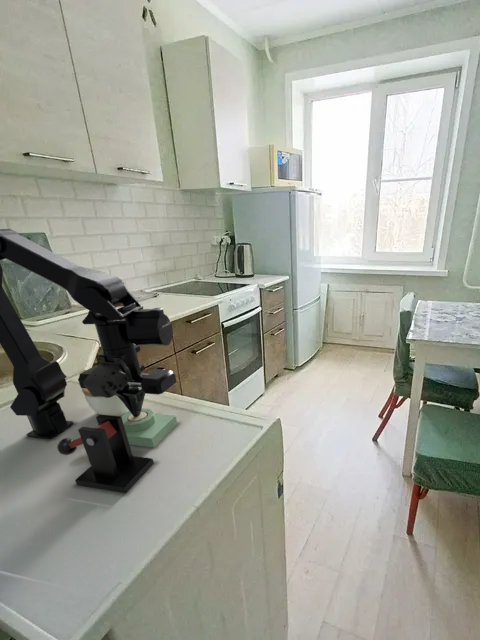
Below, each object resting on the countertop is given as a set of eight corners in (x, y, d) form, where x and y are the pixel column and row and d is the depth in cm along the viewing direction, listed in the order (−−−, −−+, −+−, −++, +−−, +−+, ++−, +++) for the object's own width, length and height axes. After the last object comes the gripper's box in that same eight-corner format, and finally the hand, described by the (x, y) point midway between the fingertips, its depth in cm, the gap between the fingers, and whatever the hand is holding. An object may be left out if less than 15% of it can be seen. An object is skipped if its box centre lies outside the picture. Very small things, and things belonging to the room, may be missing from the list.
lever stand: (76, 485, 61) (56, 433, 56) (108, 457, 68) (92, 408, 63) (126, 493, 59) (108, 439, 54) (154, 463, 65) (140, 413, 61)
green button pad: (103, 441, 73) (98, 424, 71) (131, 419, 81) (126, 403, 79) (153, 447, 70) (149, 430, 68) (177, 423, 78) (174, 408, 76)
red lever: (60, 460, 63) (49, 446, 62) (73, 450, 66) (63, 437, 65) (107, 442, 58) (96, 427, 57) (119, 432, 61) (109, 417, 60)
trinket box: (122, 424, 79) (111, 387, 75) (80, 421, 81) (68, 384, 77) (148, 401, 88) (140, 367, 84) (110, 399, 90) (100, 365, 86)
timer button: (126, 426, 73) (124, 419, 73) (137, 417, 76) (135, 410, 76) (141, 428, 72) (139, 421, 72) (151, 419, 76) (149, 412, 75)
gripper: (42, 358, 62) (70, 432, 69) (133, 363, 58) (153, 442, 64) (89, 338, 72) (109, 405, 79) (170, 341, 67) (184, 412, 74)
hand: (137, 415), depth 74 cm, fingers closed, pressing on timer button
